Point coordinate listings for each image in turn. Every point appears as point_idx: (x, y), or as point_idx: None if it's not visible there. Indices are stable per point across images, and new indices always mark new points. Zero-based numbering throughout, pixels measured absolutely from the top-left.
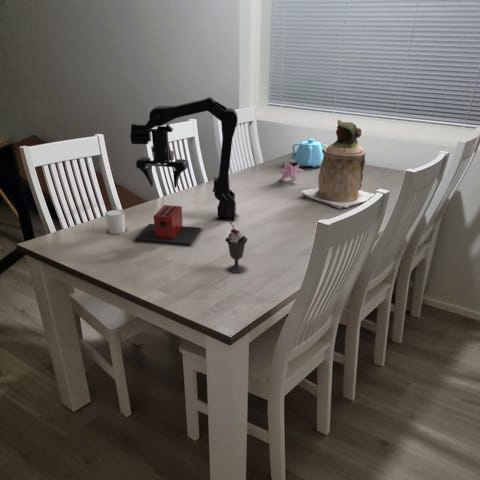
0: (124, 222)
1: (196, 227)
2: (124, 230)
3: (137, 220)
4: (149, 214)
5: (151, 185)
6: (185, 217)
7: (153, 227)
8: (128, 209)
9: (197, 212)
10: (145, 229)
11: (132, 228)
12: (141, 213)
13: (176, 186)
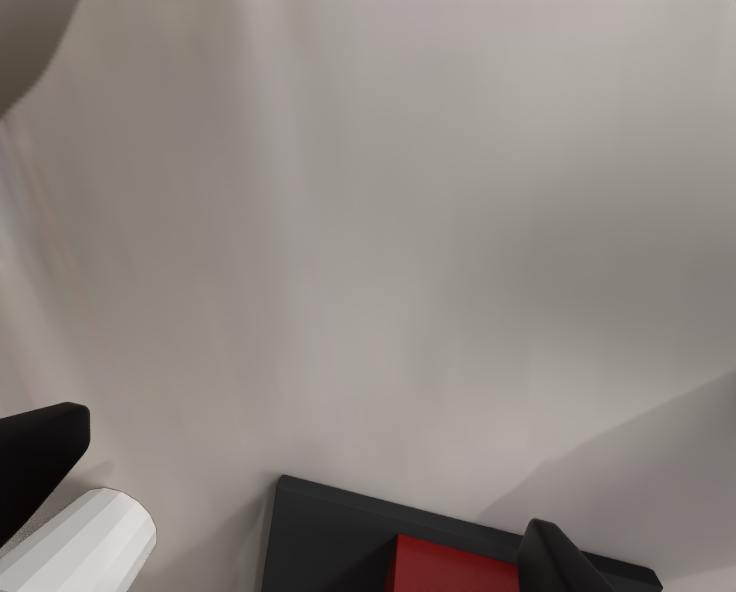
0: (122, 585)
1: (628, 582)
2: (152, 541)
3: (173, 365)
4: (226, 237)
5: (61, 461)
6: (541, 314)
7: (317, 547)
8: (22, 109)
9: (671, 178)
10: (273, 572)
11: (185, 496)
12: (156, 213)
13: (560, 537)
